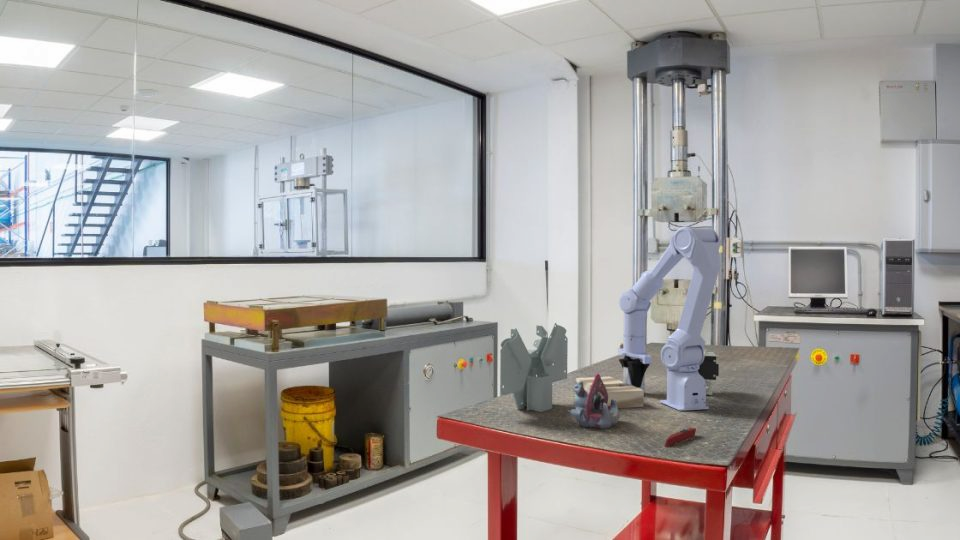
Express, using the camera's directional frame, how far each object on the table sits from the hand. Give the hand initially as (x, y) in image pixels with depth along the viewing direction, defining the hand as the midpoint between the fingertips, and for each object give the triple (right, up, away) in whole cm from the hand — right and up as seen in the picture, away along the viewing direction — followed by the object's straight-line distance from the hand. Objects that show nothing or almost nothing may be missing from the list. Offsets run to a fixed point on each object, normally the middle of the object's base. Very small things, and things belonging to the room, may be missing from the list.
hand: (633, 386), depth 165 cm
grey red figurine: (-16, -3, -30) cm, 34 cm away
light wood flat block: (-8, -2, -7) cm, 11 cm away
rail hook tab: (0, -2, 0) cm, 2 cm away
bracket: (-28, -2, -17) cm, 33 cm away
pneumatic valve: (+20, -2, 0) cm, 20 cm away
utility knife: (-1, -3, -43) cm, 43 cm away
